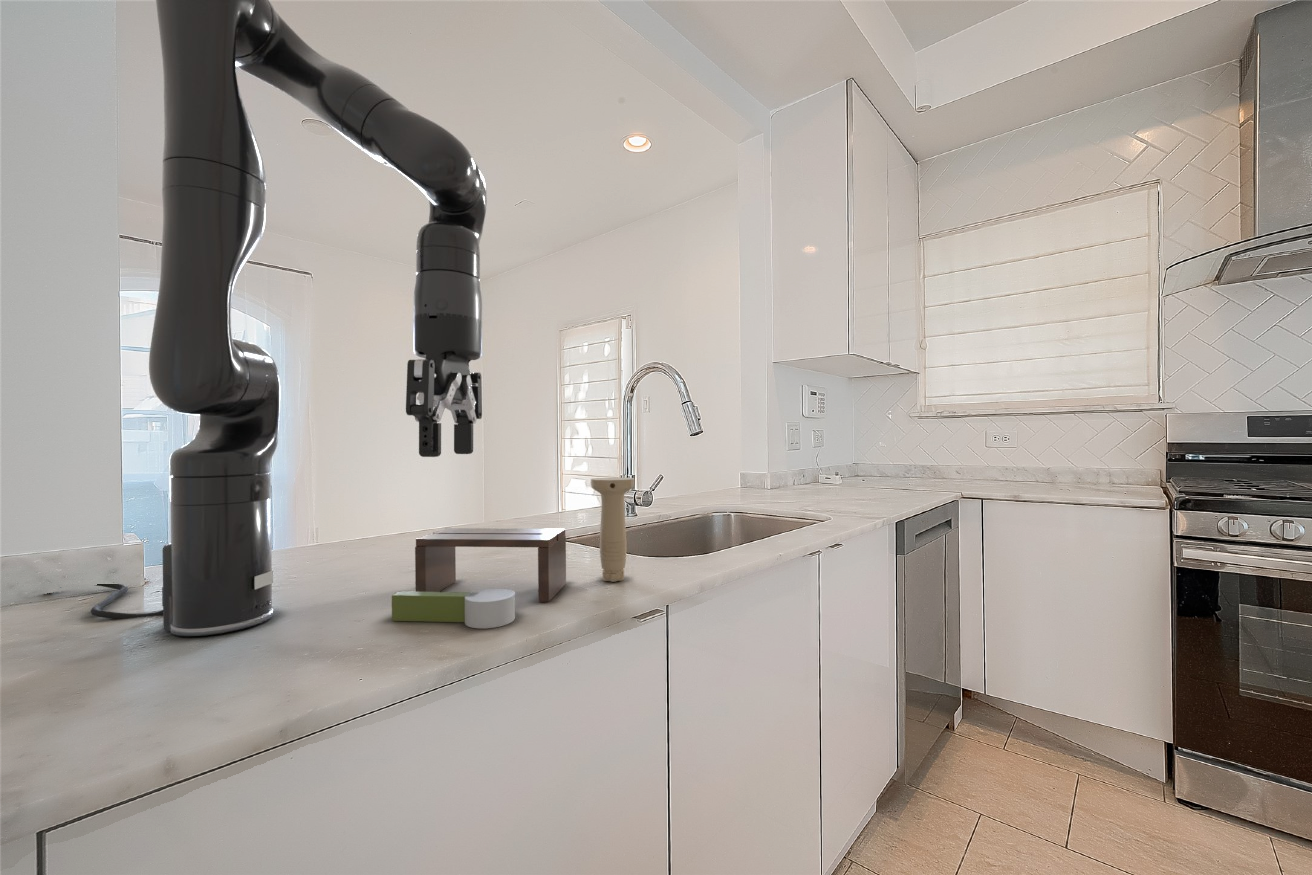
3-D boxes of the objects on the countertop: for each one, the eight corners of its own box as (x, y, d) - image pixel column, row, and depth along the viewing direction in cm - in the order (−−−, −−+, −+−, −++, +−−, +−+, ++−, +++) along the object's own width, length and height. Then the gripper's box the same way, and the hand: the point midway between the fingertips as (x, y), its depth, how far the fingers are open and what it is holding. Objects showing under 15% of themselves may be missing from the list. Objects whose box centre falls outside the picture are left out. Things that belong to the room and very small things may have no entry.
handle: (635, 583, 81) (634, 479, 81) (590, 584, 80) (590, 480, 80) (634, 575, 86) (633, 477, 86) (592, 576, 85) (591, 477, 85)
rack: (415, 599, 74) (414, 539, 74) (446, 581, 83) (446, 527, 83) (548, 602, 72) (548, 540, 72) (566, 583, 81) (565, 528, 81)
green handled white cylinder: (382, 626, 63) (382, 600, 63) (408, 610, 69) (408, 586, 69) (504, 629, 62) (504, 602, 62) (521, 613, 68) (521, 588, 68)
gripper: (445, 329, 73) (445, 453, 73) (383, 303, 59) (382, 457, 59) (501, 328, 72) (501, 453, 72) (451, 302, 58) (450, 458, 58)
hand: (447, 455), depth 66 cm, fingers open, 8 cm apart
